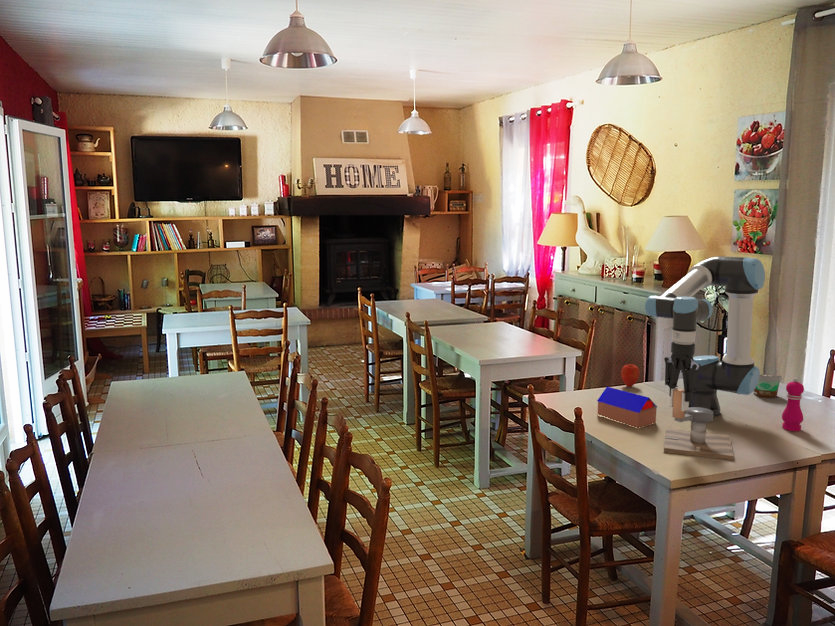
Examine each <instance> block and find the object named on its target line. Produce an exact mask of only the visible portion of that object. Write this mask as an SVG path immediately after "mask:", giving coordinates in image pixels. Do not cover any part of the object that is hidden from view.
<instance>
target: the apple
mask: <svg viewBox="0 0 835 626" xmlns="http://www.w3.org/2000/svg"><path fill="white" fill-rule="evenodd" d="M620 376H621V380H622V381H623V383H624V385H625V386H626V387H627V386H628V387H627V388H631V387H633V386H634V385H635V384H636V383H637V381H638V379H639V378H640V369H639V367H638V366H637V365H636V364H632V363H631V364H630V363H629V364H628V363H627V364H625V365H624V366H623V367H622V368H621V370H620Z"/></svg>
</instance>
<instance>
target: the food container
mask: <svg viewBox="0 0 835 626" xmlns="http://www.w3.org/2000/svg"><path fill="white" fill-rule="evenodd" d="M782 380H783V378H782V374H781V373H780V374H779V375H771V374H760V375H759V380H758V383H757V386H756V388H755V390H754V391H753V392H752V393H753V395H754V396H755V395H756V397H758V396H759V397H758V398H763V397H764V398H765V399H775V398H777V397H778V392H779V386H780V382H781V381H782Z"/></svg>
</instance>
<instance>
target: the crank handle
mask: <svg viewBox="0 0 835 626" xmlns="http://www.w3.org/2000/svg"><path fill="white" fill-rule="evenodd" d="M683 391H684V388H682V389H681V388H678V389H674V397H673V407H672V417H673V418H674V421H675V422H678V423H683V422H689V421H690V422H691V421H692V422H697V423H706V424H709V423H712V422H713V421H714V416H713V411H712V410H710V409H706V408H701V407H690V408H688V410H686V413H685V411H681V404H682V392H683Z"/></svg>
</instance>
